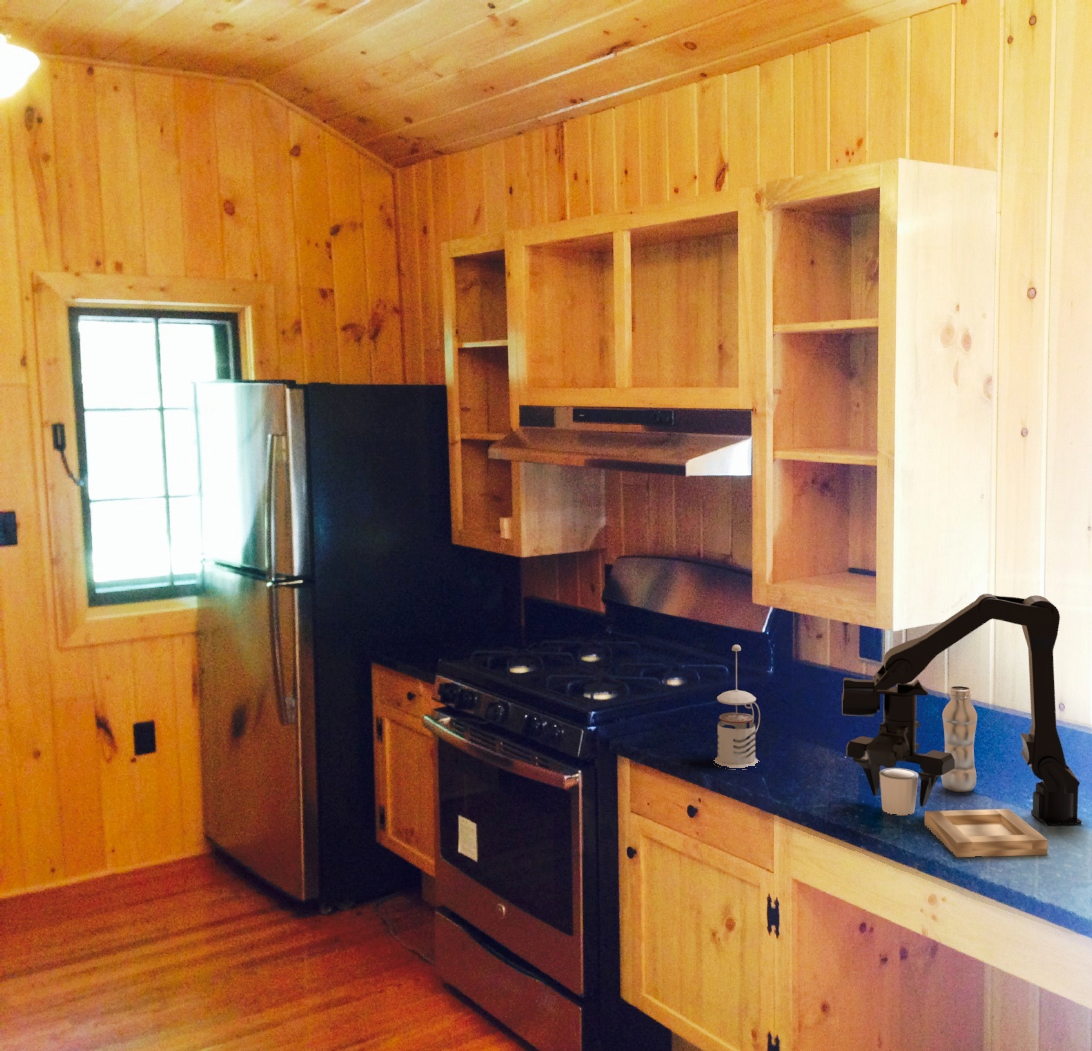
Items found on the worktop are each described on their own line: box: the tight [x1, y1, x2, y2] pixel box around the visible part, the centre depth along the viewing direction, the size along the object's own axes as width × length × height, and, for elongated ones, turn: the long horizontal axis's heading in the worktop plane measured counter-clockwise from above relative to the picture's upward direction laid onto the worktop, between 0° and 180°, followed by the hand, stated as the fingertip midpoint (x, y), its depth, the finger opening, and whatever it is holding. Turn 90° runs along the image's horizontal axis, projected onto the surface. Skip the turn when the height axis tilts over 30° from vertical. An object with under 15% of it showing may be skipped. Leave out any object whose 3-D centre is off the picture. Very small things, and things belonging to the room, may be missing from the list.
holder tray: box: [924, 808, 1049, 858], centre depth 200 cm, size 15×15×2 cm
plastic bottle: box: [940, 685, 978, 793], centre depth 225 cm, size 6×7×20 cm
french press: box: [713, 644, 761, 768], centre depth 245 cm, size 10×12×25 cm
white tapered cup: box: [879, 767, 920, 816], centre depth 215 cm, size 7×7×7 cm
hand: (898, 800), depth 215 cm, fingers open, 9 cm apart
